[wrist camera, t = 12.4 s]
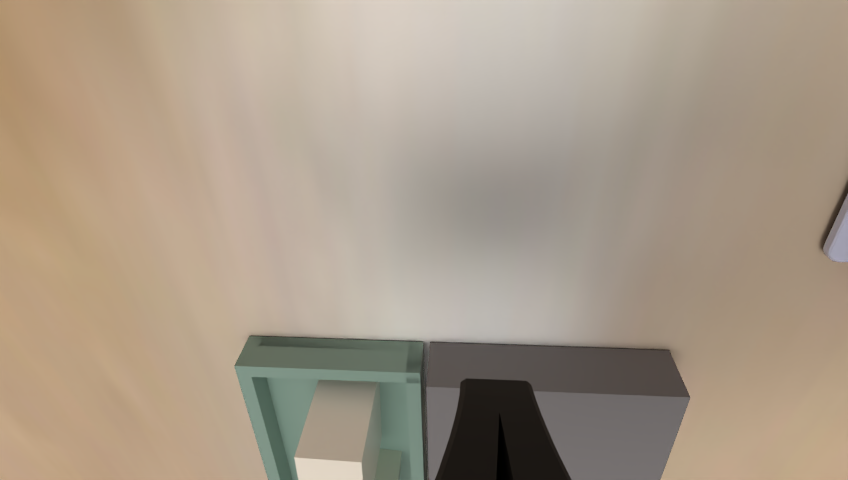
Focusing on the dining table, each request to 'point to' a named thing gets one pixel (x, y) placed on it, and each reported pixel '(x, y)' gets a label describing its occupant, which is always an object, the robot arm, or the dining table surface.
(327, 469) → the cream tile
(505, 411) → the robot arm
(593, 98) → the dining table surface
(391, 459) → the sage tile
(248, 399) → the tray
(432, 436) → the charcoal board
